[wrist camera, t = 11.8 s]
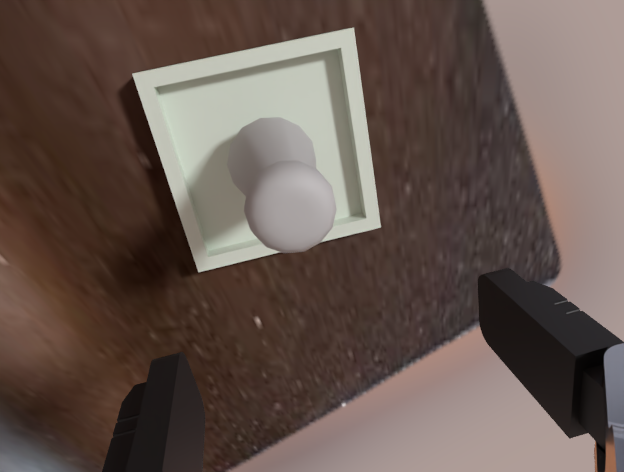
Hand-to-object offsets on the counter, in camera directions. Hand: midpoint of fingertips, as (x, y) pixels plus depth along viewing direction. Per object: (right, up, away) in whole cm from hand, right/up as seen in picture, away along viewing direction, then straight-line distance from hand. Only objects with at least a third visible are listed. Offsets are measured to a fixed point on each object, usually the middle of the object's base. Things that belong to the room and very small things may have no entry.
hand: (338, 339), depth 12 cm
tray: (-4, +9, +21) cm, 23 cm away
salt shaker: (-4, +9, +20) cm, 22 cm away
